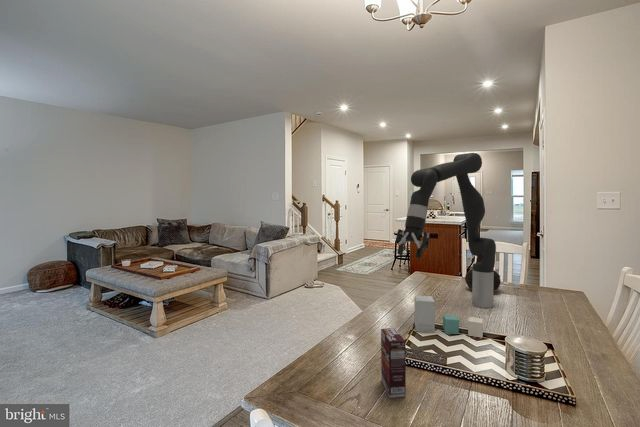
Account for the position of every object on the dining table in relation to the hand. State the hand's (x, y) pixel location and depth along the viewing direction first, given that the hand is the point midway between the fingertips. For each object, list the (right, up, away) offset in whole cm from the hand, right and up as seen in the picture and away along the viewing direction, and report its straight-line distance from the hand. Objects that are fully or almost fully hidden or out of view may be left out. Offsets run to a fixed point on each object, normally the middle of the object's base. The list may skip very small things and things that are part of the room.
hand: (408, 256), depth 130 cm
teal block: (+17, -30, 0) cm, 34 cm away
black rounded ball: (+56, -27, +54) cm, 82 cm away
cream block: (+25, -30, -3) cm, 39 cm away
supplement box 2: (+7, -30, +3) cm, 31 cm away
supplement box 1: (-15, -33, -38) cm, 52 cm away
